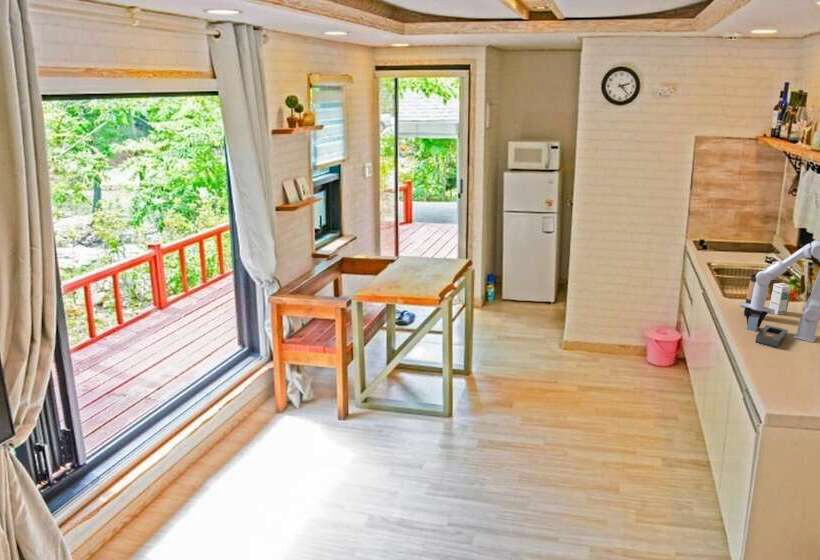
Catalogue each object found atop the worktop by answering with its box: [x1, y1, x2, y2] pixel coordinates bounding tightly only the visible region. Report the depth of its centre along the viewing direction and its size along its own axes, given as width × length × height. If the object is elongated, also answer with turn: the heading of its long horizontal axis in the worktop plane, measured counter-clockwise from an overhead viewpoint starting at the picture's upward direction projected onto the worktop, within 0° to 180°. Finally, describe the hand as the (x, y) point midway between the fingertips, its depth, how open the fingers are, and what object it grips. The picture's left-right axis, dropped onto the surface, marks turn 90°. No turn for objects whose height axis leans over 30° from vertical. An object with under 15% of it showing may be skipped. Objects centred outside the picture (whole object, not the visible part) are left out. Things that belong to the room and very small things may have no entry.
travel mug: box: [743, 273, 761, 317], centre depth 349 cm, size 8×8×20 cm
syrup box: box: [768, 282, 792, 316], centre depth 358 cm, size 6×6×14 cm
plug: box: [746, 314, 760, 332], centre depth 334 cm, size 6×4×6 cm, turn 142°
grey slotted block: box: [754, 324, 789, 349], centre depth 321 cm, size 18×9×4 cm, turn 142°
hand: (753, 325), depth 334 cm, fingers closed on plug, 4 cm apart
